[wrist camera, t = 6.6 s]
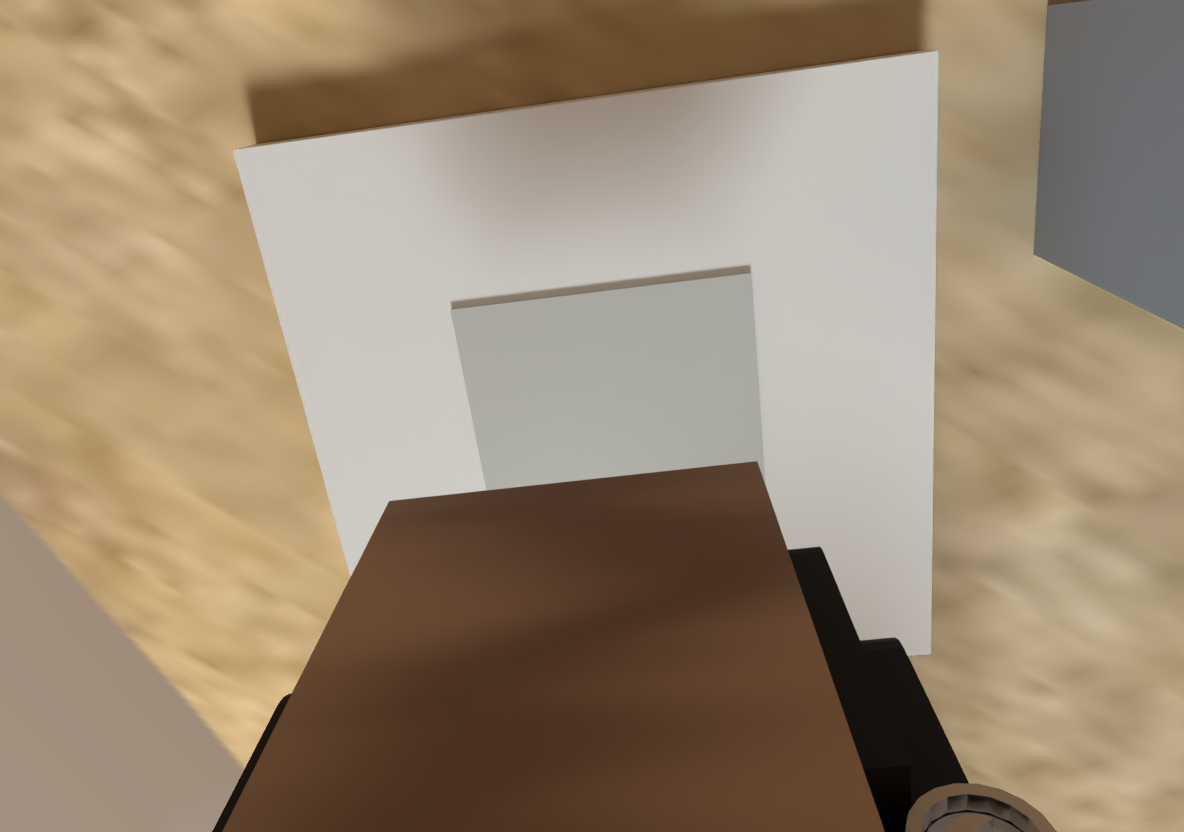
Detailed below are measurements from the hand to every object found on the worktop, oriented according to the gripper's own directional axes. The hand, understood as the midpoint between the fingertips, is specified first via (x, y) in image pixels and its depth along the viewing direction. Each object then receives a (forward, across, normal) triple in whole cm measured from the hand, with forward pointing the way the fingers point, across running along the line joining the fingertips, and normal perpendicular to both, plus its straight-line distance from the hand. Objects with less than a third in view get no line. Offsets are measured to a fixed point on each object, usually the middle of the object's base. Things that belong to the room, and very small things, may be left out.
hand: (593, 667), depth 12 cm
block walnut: (+1, 0, 0) cm, 1 cm away
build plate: (+10, 0, 0) cm, 10 cm away
